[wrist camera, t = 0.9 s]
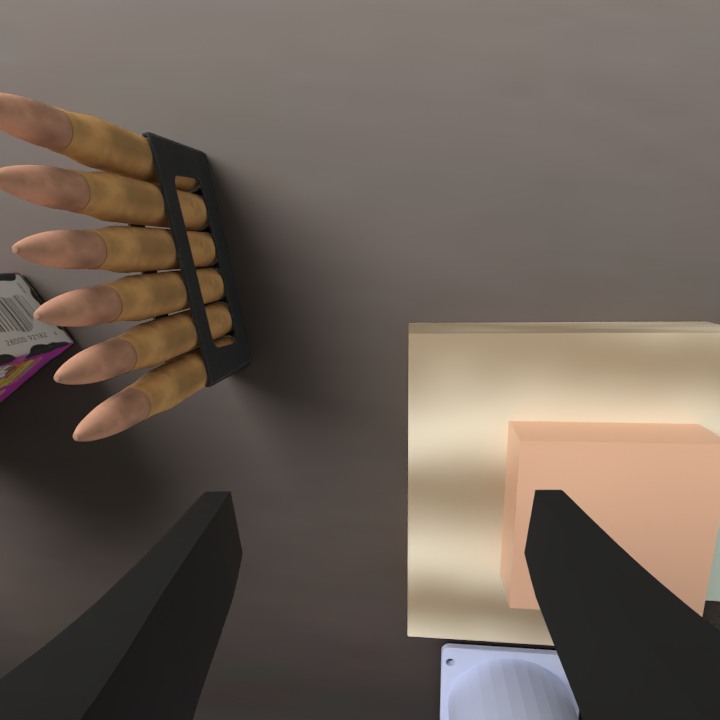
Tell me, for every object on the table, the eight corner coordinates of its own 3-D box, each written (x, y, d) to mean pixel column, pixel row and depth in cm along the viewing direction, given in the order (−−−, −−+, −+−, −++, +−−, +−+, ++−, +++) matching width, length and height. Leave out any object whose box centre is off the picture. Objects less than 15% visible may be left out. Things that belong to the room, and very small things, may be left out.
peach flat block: (673, 582, 22) (701, 618, 20) (499, 574, 23) (509, 608, 21) (698, 423, 20) (733, 444, 18) (508, 420, 21) (520, 440, 19)
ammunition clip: (252, 363, 25) (114, 465, 13) (220, 368, 25) (56, 472, 13) (204, 151, 22) (-15, 46, 11) (169, 159, 23) (-82, 64, 11)
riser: (662, 608, 25) (694, 654, 23) (407, 594, 27) (407, 636, 24) (706, 321, 22) (752, 332, 19) (408, 322, 23) (408, 333, 20)
